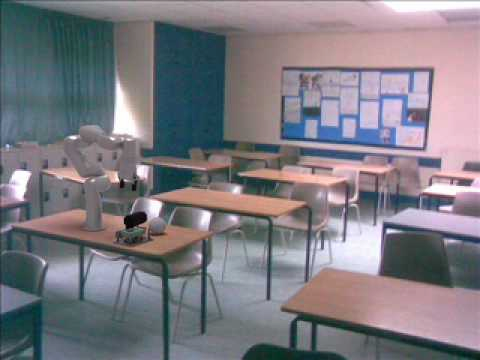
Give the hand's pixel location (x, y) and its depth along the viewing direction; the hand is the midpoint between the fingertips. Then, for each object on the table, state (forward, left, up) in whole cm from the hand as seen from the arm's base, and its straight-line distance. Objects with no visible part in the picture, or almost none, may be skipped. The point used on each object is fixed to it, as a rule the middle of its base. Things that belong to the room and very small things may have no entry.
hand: (128, 189), depth 310 cm
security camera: (-6, +11, -28) cm, 30 cm away
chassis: (+12, -8, -27) cm, 31 cm away
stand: (-1, -2, -27) cm, 27 cm away
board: (+12, -8, -23) cm, 27 cm away
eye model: (+11, +13, -28) cm, 32 cm away
